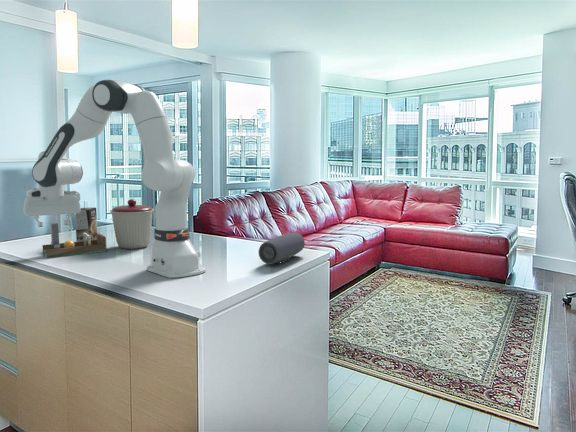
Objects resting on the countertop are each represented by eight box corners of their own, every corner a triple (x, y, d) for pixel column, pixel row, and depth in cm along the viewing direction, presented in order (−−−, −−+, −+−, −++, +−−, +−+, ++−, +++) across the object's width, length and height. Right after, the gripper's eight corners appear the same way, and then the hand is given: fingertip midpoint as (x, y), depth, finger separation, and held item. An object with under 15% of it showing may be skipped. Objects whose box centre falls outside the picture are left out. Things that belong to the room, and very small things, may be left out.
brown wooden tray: (106, 251, 186) (105, 235, 185) (47, 257, 173) (46, 240, 172) (99, 246, 195) (98, 230, 194) (42, 252, 182) (41, 236, 181)
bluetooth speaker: (285, 253, 184) (285, 230, 182) (305, 256, 180) (306, 232, 178) (256, 265, 164) (256, 239, 162) (278, 269, 160) (279, 241, 158)
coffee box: (91, 245, 195) (89, 209, 193) (76, 245, 195) (74, 209, 193) (98, 241, 204) (96, 207, 202) (84, 241, 204) (82, 207, 202)
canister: (129, 253, 182) (127, 202, 179) (102, 247, 192) (100, 199, 189) (163, 245, 197) (162, 198, 194) (137, 241, 207) (135, 196, 204)
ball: (75, 250, 182) (75, 240, 182) (65, 251, 180) (64, 241, 179) (73, 248, 185) (73, 239, 185) (63, 249, 183) (62, 240, 182)
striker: (61, 252, 177) (59, 224, 175) (54, 252, 175) (52, 225, 174) (57, 248, 184) (55, 221, 182) (50, 249, 182) (49, 222, 181)
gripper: (78, 190, 185) (79, 222, 187) (21, 191, 173) (23, 226, 175) (81, 191, 180) (83, 224, 182) (23, 193, 168) (25, 229, 170)
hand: (53, 225), depth 178 cm, fingers open, 8 cm apart
